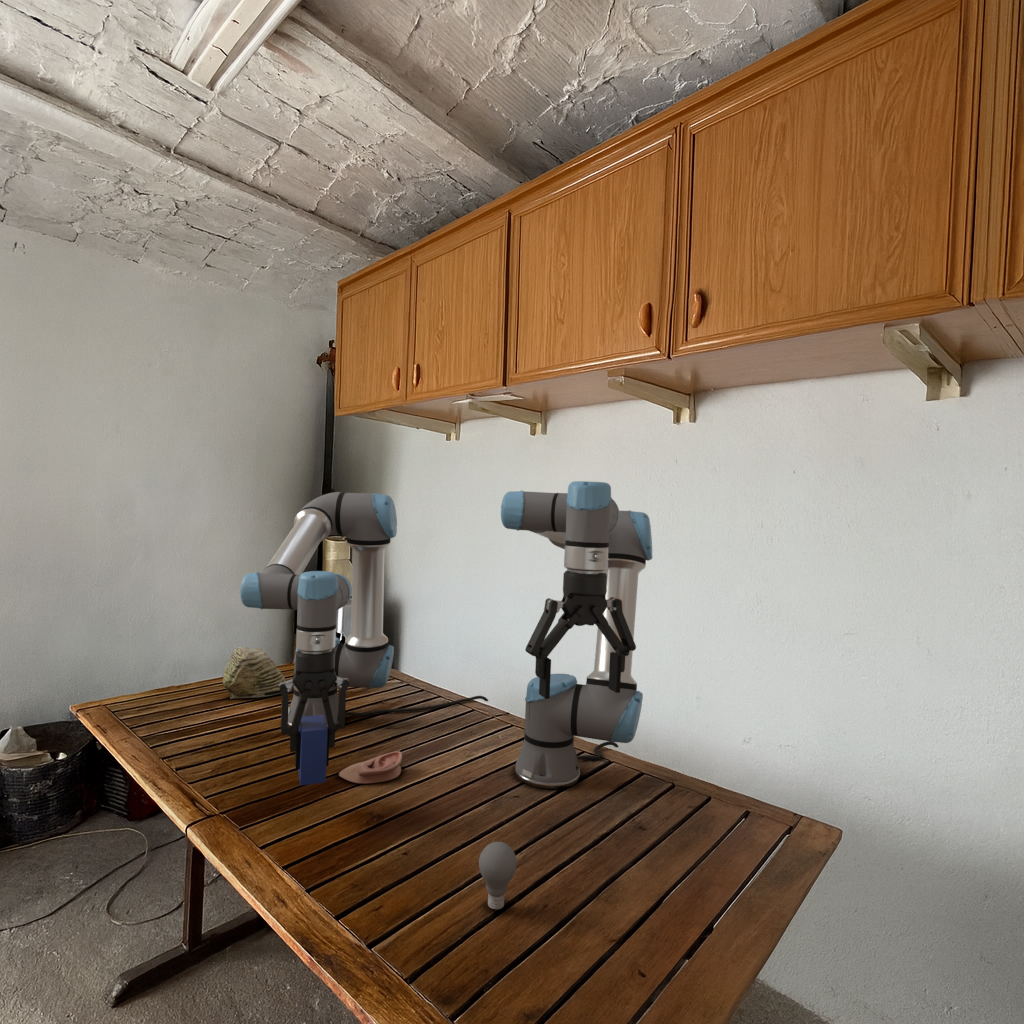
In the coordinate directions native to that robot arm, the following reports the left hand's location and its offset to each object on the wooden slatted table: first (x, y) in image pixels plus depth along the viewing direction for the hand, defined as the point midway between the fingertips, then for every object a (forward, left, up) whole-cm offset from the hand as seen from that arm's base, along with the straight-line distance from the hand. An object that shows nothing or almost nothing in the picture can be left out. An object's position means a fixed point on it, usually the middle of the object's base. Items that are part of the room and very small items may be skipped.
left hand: (311, 764), depth 127 cm
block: (0, 0, -2) cm, 2 cm away
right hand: (-19, +50, +22) cm, 58 cm away
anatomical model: (-20, -5, -10) cm, 22 cm away
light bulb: (-3, +47, -10) cm, 48 cm away
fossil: (-30, -76, -10) cm, 82 cm away
